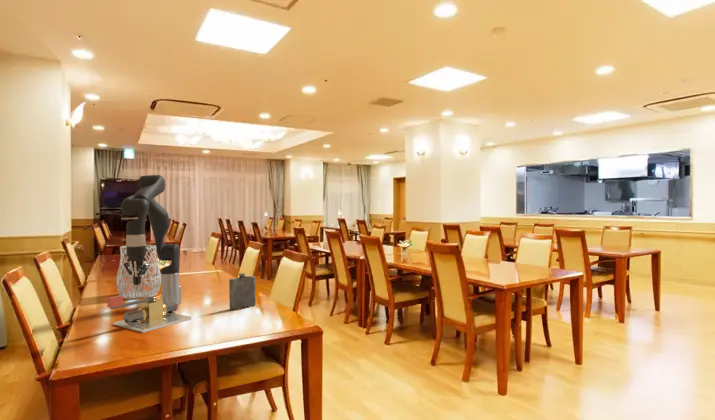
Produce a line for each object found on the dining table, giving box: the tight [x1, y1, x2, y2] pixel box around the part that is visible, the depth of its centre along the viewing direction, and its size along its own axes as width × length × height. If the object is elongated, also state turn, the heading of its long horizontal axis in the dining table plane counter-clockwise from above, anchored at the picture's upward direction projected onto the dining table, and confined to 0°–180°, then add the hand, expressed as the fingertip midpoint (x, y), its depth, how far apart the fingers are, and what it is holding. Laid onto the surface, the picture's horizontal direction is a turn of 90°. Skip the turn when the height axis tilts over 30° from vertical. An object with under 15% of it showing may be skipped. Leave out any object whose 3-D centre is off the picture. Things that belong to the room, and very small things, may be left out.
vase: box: [115, 244, 161, 300], centre depth 254 cm, size 24×24×30 cm
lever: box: [107, 294, 157, 310], centre depth 187 cm, size 21×4×5 cm, turn 150°
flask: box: [228, 272, 257, 310], centre depth 222 cm, size 4×14×18 cm, turn 129°
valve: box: [113, 298, 192, 333], centre depth 195 cm, size 24×23×10 cm
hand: (137, 284), depth 180 cm, fingers closed
